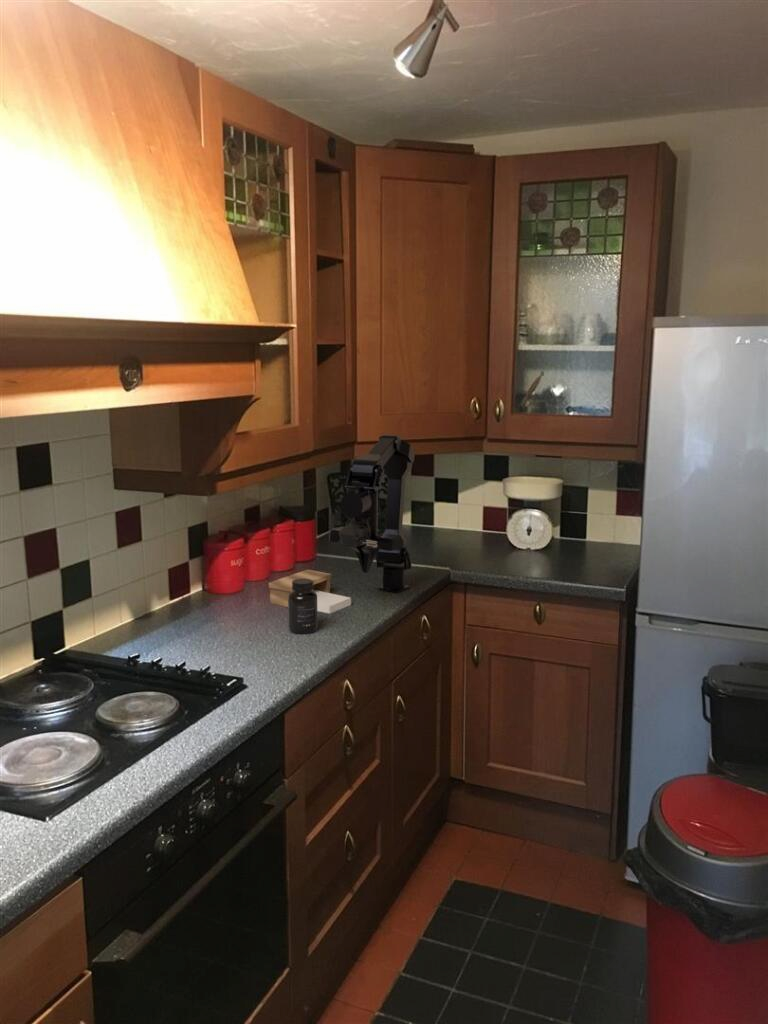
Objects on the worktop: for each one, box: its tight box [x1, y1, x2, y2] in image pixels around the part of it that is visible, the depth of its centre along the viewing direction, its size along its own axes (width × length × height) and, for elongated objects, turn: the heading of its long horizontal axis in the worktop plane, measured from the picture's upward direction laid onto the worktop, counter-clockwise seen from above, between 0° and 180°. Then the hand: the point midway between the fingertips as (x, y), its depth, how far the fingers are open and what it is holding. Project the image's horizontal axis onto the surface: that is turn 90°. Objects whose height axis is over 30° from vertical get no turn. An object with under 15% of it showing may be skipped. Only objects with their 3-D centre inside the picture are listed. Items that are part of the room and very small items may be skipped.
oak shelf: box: [268, 569, 332, 608], centre depth 227 cm, size 16×8×6 cm, turn 147°
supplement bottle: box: [287, 578, 319, 635], centre depth 202 cm, size 7×7×12 cm
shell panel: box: [312, 589, 352, 614], centre depth 223 cm, size 9×16×2 cm, turn 56°
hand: (365, 572), depth 214 cm, fingers closed
